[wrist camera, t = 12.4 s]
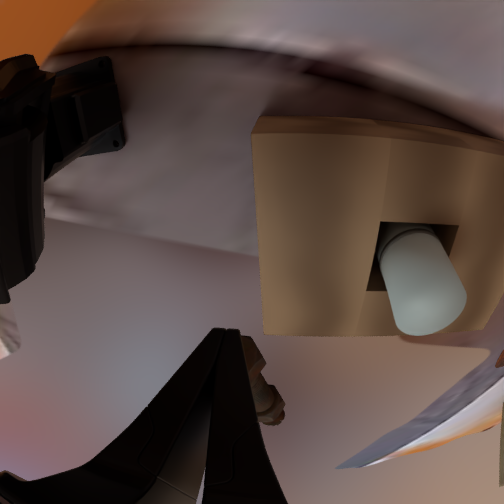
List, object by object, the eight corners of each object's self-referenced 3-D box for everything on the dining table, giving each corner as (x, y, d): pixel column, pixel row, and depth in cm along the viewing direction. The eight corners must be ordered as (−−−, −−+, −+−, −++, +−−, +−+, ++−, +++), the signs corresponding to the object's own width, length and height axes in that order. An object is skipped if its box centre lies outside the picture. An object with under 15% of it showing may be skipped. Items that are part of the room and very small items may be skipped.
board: (268, 295, 25) (263, 334, 22) (259, 116, 17) (250, 133, 13) (467, 295, 23) (482, 329, 19) (517, 144, 14) (551, 168, 11)
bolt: (269, 391, 39) (229, 325, 30) (301, 406, 36) (270, 342, 27) (244, 425, 36) (192, 369, 27) (276, 443, 32) (232, 393, 24)
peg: (364, 247, 21) (385, 337, 15) (371, 195, 19) (406, 279, 12) (415, 248, 21) (450, 333, 14) (428, 198, 18) (478, 278, 12)
